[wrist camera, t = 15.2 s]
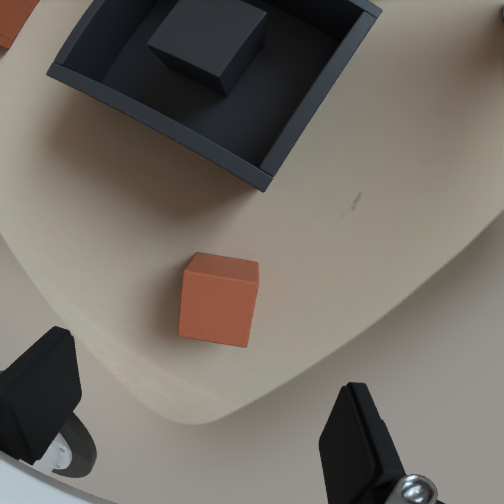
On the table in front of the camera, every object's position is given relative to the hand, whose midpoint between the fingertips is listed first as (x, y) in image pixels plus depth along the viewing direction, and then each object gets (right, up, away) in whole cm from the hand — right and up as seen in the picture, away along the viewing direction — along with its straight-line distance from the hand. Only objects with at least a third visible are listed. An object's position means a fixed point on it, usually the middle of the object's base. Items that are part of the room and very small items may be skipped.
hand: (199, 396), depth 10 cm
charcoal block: (0, +17, +7) cm, 18 cm away
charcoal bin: (0, +17, +8) cm, 19 cm away
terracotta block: (0, +3, +11) cm, 12 cm away
